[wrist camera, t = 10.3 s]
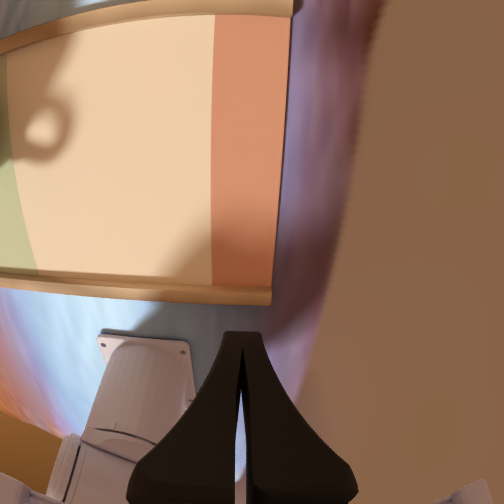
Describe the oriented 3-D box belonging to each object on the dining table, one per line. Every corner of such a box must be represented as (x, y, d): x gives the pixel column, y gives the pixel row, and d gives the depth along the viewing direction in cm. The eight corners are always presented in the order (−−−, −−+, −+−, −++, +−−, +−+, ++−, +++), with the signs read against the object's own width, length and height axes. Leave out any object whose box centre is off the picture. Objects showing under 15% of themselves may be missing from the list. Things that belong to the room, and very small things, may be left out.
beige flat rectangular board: (269, 296, 23) (270, 305, 22) (-55, 272, 22) (-60, 278, 21) (290, 3, 14) (293, -2, 13) (-91, 92, 12) (-98, 94, 11)
